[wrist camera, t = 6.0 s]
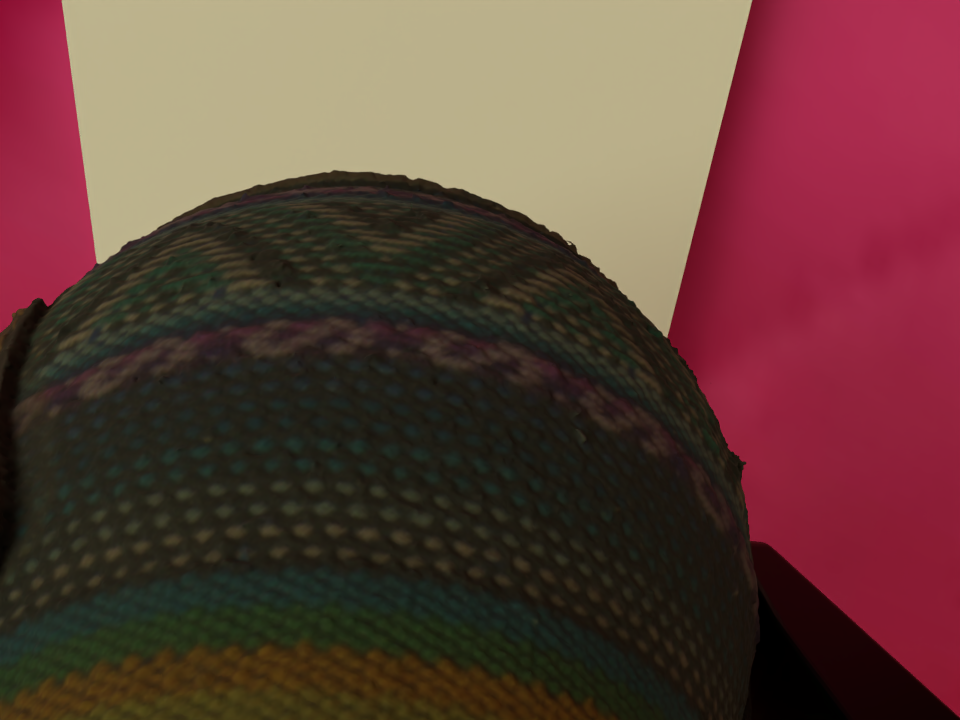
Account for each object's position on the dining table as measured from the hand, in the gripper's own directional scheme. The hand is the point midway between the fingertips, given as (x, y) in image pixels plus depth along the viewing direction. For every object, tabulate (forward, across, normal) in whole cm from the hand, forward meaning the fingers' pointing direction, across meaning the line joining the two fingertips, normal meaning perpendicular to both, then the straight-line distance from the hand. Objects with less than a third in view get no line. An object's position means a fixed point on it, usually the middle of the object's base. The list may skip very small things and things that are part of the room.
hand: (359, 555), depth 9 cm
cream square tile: (+10, 0, 0) cm, 10 cm away
